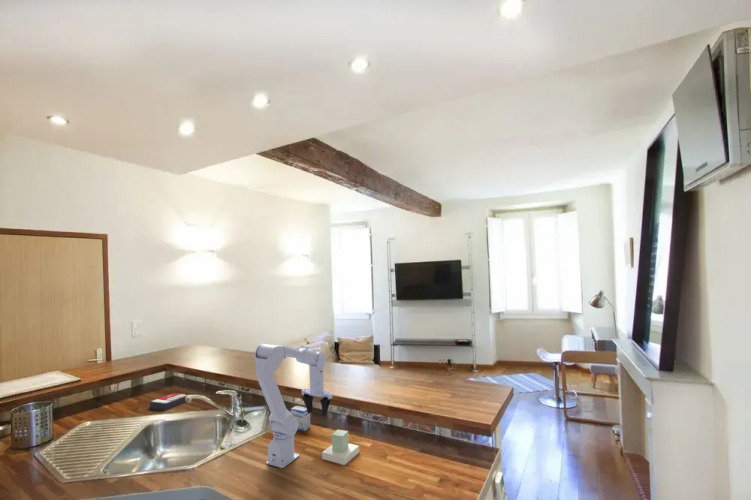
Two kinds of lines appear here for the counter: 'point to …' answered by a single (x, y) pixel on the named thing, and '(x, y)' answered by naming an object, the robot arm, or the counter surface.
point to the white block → (340, 454)
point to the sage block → (340, 441)
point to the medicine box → (301, 417)
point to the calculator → (167, 402)
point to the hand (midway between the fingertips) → (317, 414)
